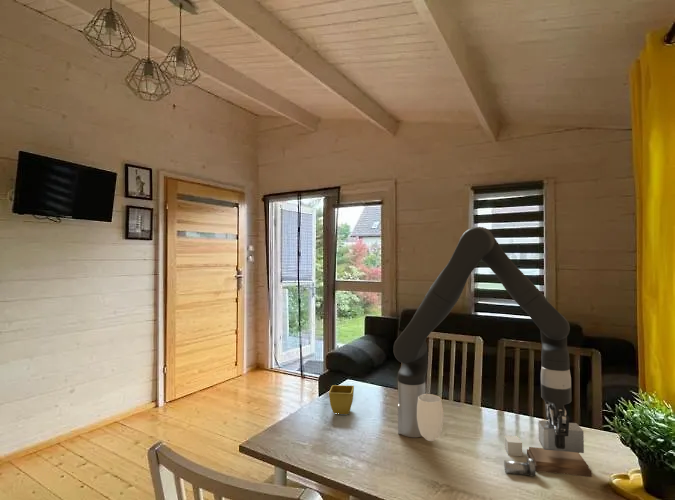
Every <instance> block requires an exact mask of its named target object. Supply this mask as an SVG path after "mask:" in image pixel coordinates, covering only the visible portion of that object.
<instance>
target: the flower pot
mask: <svg viewBox="0 0 675 500" xmlns="http://www.w3.org/2000/svg"><path fill="white" fill-rule="evenodd" d="M354 391H355V387H354V385H345V384H344V385H340V384H339V385H335V384H333V385H331V386H330V389H329V391H328V397H329V403H330V408H331V410H332V412H333V413H337V414H336V415H339V414H348V415H349V413H350V412H351V409H352V405H353V400H354ZM338 413H339V414H338Z"/></svg>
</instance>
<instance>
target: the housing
mask: <svg viewBox="0 0 675 500" xmlns="http://www.w3.org/2000/svg"><path fill="white" fill-rule="evenodd" d="M537 423H538V442H539V444H540V445H541V448H543V449H544V450H554V451H565V452H577V453H579V454H584V453H585V446H584V445H585V444H584V440H585V439H584V438H585V437H584V430H583V428H582V427H581V426H580V425H579V424H578V423H576V422H569V432H568V436H565V449H558V448H557V447H556V442H555V428H554V425H552V421H548V420H538V422H537ZM556 423H558V422H556ZM561 431H563V430H562V429H561Z"/></svg>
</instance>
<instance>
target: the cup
mask: <svg viewBox="0 0 675 500" xmlns="http://www.w3.org/2000/svg"><path fill="white" fill-rule="evenodd" d="M417 422H418V428H419V431H420V434H421V435H422V436H421V437H423V438H424V439H425V441H429V442H434V441H436V440H437V439H438V438H440V437H441V435H442V431H443V426H444V409H443V403H442V397H440V396H438V395H436V394H432V393H426V394H423V395H420V396H419V397H418V403H417Z"/></svg>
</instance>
